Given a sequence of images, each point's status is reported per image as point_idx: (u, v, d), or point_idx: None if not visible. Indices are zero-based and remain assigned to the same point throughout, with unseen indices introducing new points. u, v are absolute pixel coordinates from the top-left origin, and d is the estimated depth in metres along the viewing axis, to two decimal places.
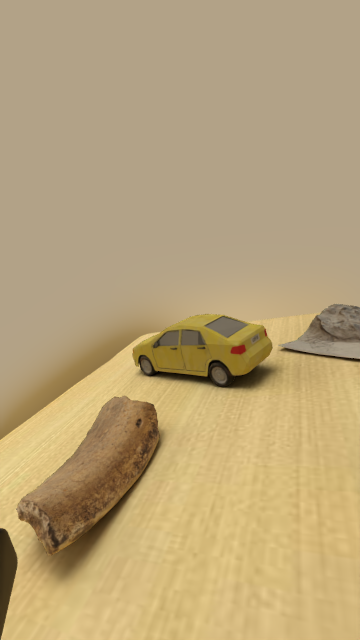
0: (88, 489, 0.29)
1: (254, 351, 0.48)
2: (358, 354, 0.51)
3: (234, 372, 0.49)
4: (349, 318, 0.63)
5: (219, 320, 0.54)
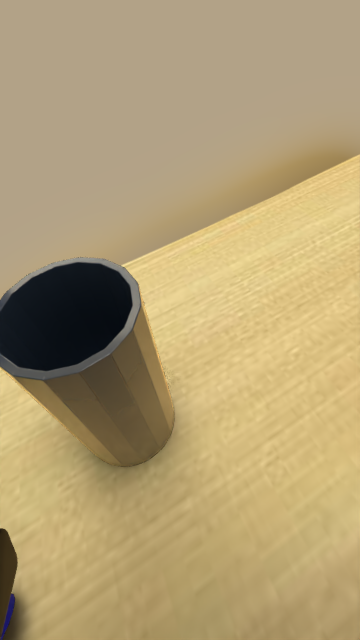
0: None
1: None
2: None
3: None
4: None
5: None
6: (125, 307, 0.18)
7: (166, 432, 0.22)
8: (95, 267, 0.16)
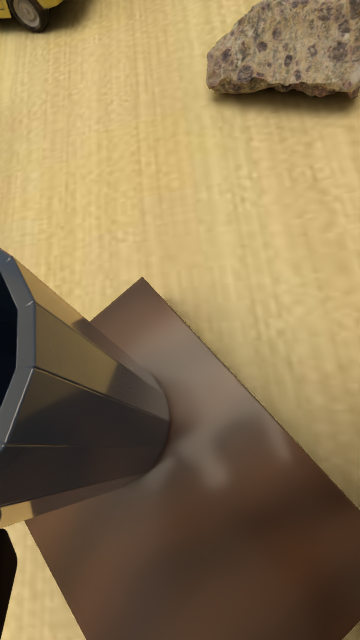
0: None
1: None
2: None
3: (45, 2, 0.35)
4: None
5: None
6: None
7: (164, 426, 0.16)
8: None
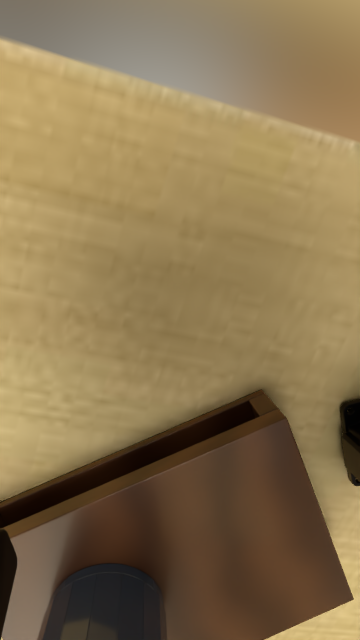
0: None
1: None
2: None
3: None
4: None
5: None
6: None
7: (126, 589, 0.17)
8: None
